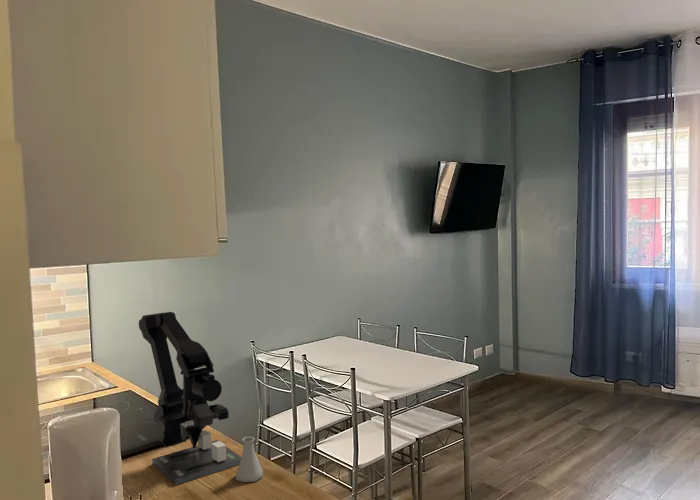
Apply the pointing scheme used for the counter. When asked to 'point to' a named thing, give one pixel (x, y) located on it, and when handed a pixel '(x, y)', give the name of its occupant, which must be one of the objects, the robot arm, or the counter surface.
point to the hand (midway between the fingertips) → (194, 447)
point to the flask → (249, 463)
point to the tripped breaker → (204, 440)
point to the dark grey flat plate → (193, 464)
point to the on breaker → (218, 451)
